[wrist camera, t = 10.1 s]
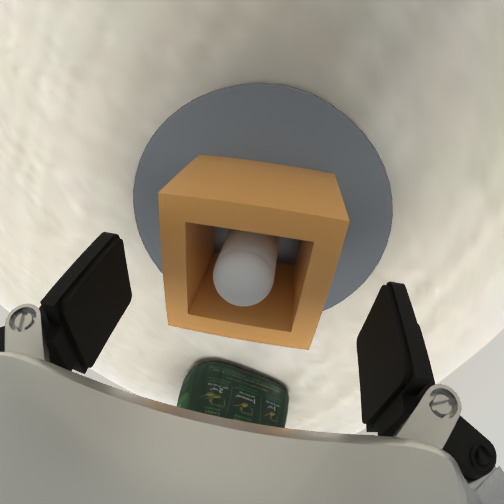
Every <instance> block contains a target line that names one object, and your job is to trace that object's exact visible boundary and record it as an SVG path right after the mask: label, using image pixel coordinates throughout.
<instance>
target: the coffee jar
mask: <svg viewBox="0 0 504 504" xmlns="http://www.w3.org/2000/svg"><path fill="white" fill-rule="evenodd" d="M288 404H289V396H288V393H287V392H286V390H285V389H284V388H283V387H282V386H280V385H279V384H277V383H275V382H273V381H271V380H268V379H266V378H264V377H262V376H259V375H256V374H253V373H251V372H248V371H245V370H242V369H240V368H237V367H234V366H230V365H227V364H224V363H219V362H210V363H204V364H200V365H198V366H196V367H194V368H193V369H192V370H191V371H190V372H189V373H188V375H187V376H186V377H185V379H184V381H183V385H182V388H181V391H180V395H179V399H178V404H177V407H180V408H183V409H187V410H191V411H195V412H200V413H204V414H208V415H213V416H217V417H222V418H227V419H232V420H237V421H243V422H248V423H254V424H260V425H267V426H273V427H280V428H285V424H286V419H287V413H288Z"/></svg>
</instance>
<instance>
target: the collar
mask: <svg viewBox="0 0 504 504" xmlns="http://www.w3.org/2000/svg"><path fill="white" fill-rule="evenodd" d="M158 200H159V223H160V241H161V255H162V268H163V280H164V291H165V301H166V310H167V319H168V325H171V326H175V327H180V328H184V329H189V330H194V331H199V332H203V333H208V334H214V335H219V336H224V337H229V338H235V339H241V340H246V341H252V342H258V343H265V344H271V345H277V346H284V347H291V348H298V349H306V350H309V347H310V345H311V342H312V339H313V336H314V334H315V331H316V328H317V325H318V322H319V319H320V316H321V313H322V310H323V307H324V304H325V301H326V298H327V295H328V292H329V289H330V286H331V283H332V280H333V277H334V273H335V270H336V267H337V263H338V260H339V257H340V253H341V250H342V247H343V243H344V240H345V236H346V233H347V229H348V225H349V222H350V221H349V217H348V214H347V211H346V208H345V204H344V201H343V198H342V195H341V192H340V189H339V186H338V183H337V180H336V177H335V174H333V173H327V172H322V171H316V170H311V169H305V168H299V167H293V166H287V165H280V164H274V163H267V162H260V161H252V160H245V159H237V158H228V157H220V156H210V155H200V154H199V155H198V156H197V157H196V158H195V159H194V160H193V161H192V162H190V163H189V164H188V165H187V166H186V167H185V168H184V169H183V170H182V171H181V172H179V173H178V174H177V175H176V176H175V177H174V178H173V179H172V180H171V181H170V182H169V183H168V184H167V185H166V186H165V187H164V188H162V189H161V190H160V191H159V192H158ZM215 226H216V227H222V228H229V229H235V230H242V231H248V232H255V233H261V234H267V235H274V236H280V237H286V238H292V239H298V240H300V243H299V248H298V252H297V257H296V262H295V265H289V264H282V263H276V269H275V276H274V283H273V286H272V288H271V291H270V292H269V294H268V295H267V296H266V297H265V298H264V299H263V300H262V301H260V302H259V303H257V304H254V305H251V306H236V305H233V304H231V303H229V302H227V301H226V300H224V299H223V298H222V297H221V296H220V295H219V293H218V292H217V290H216V288H215V285H214V281H213V270H214V267H215V264H216V261H217V259H218V256H219V254H220V253H214V248H215Z"/></svg>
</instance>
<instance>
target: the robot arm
mask: <svg viewBox="0 0 504 504" xmlns="http://www.w3.org/2000/svg"><path fill="white" fill-rule="evenodd" d="M131 298H132V292H131V287H130V281H129V276H128V270H127V264H126V258H125V251H124V244H123V240H122V239H120V237H119V235H117V234H113V233H108V232H103V233H102V234H101V235H100V236H99V237H98V238H97V239H96V240H95V241H94V242H93V243H92V244H91V245H90V246H89V247H88V248H87V249H86V250H85V251H84V252H83V253H82V255H81V256H80V257H79V258H78V259H77V260H76V261H75V262H74V263H73V264H72V266H71V267H70V268H69V269H68V270H67V271H66V272H65V273H64V275H63V276H62V277H61V278H60V279H59V280H58V281H57V283H56V284H55V285H54V286H53V287H52V288H51V290H50V291H49V292H48V293H47V294H46V296H45V297H44V298H43V299H42V300H41V306H40V308H39V309H38V307H37V306H35V305H33V304H23V305H20V306H18V307H16V308H15V309H13V310H12V311H11V312H10V313H9V315H8V317H7V318H6V323H5V326H3V327H0V504H504V472H503V471H502V469H501V468H500V466H499V467H497V468H496V467H495V464H496V451H495V448H494V446H493V444H491V442H490V441H489V440H488V439H487V438H485V437H484V436H483V435H482V434H481V433H480V432H478V431H477V430H476V429H475V428H474V427H473V426H471V425H470V424H469V423H468V422H467V421H466V420H465V419H463V418H462V417H461V416H460V413H461V401H460V399H459V397H458V395H457V393H456V392H455V391H454V390H453V389H452V388H450V387H448V386H446V385H442V384H436V385H435V381H434V377H433V373H432V369H431V365H430V361H429V357H428V353H427V350H426V346H425V343H424V339H423V336H422V332H421V329H420V326H419V324H418V323H417V321H416V317H415V314H414V311H413V308H412V305H411V302H410V299H409V296H408V293H407V290H406V287H405V285H404V284H401V283H395V282H388V283H387V285H383V286H382V287H381V289H380V291H379V293H378V295H377V298H376V300H375V302H374V304H373V306H372V308H371V310H370V313H369V315H368V317H367V319H366V321H365V323H364V325H363V327H362V329H361V331H360V333H359V335H358V338H357V354H358V365H359V378H360V392H361V408H362V422H363V423H364V424H366V428H367V432H378V436H374V435H354V434H339V433H327V432H315V431H305V430H296V429H288V428H280V427H273V426H267V425H260V424H254V423H248V422H243V421H237V420H232V419H227V418H222V417H217V416H213V415H208V414H204V413H200V412H195V411H191V410H187V409H183V408H180V407H176V406H172V405H168V404H165V403H161V402H158V401H154V400H151V399H148V398H144V397H141V396H138V395H135V394H132V393H129V392H126V391H123V390H120V389H117V388H114V387H111V386H108V385H106V384H103V383H100V382H97V381H95V380H92V379H90V378H87V377H84V376H82V375H79V374H77V373H74V372H72V369H74V370H76V371H79V372H81V373H83V374H85V373H86V371H87V369H88V367H89V368H91V367H92V366H93V365H94V363H95V361H96V359H97V358H98V356H99V354H100V352H101V351H102V349H103V347H104V345H105V344H106V342H107V340H108V338H109V337H110V335H111V333H112V332H113V330H114V328H115V327H116V325H117V323H118V322H119V320H120V318H121V317H122V315H123V313H124V312H125V310H126V308H127V307H128V305H129V304H130V302H131Z"/></svg>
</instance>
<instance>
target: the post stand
mask: <svg viewBox="0 0 504 504" xmlns="http://www.w3.org/2000/svg"><path fill="white" fill-rule="evenodd" d="M199 154H200V155H210V156H220V157H228V158H237V159H245V160H252V161H260V162H267V163H274V164H280V165H287V166H293V167H299V168H305V169H311V170H316V171H322V172H327V173H333V174H335V177H336V180H337V183H338V186H339V189H340V192H341V195H342V198H343V201H344V204H345V208H346V211H347V214H348V217H349V221H350V222H349V225H348V229H347V233H346V236H345V240H344V243H343V247H342V250H341V253H340V257H339V260H338V263H337V267H336V270H335V273H334V277H333V280H332V283H331V286H330V289H329V292H328V295H327V298H326V301H325V304H324V307H323V310H322V311H324V310H326V309H329V308H330V307H332V306H334V305H336V304H338V303H340V302H341V301H343V300H344V299H345V298H347V297H348V296H350V295H351V294H352V293H353V292H354V291H356V290H357V289H358V288H359V287H360V286H361V285H362V284H363V283H364V282H365V281H366V279H367V278H368V277H369V276H370V274H371V273H372V272H373V270H374V269H375V267H376V266H377V264H378V262H379V261H380V259H381V257H382V254H383V252H384V250H385V248H386V245H387V242H388V238H389V235H390V231H391V223H392V216H393V214H392V195H391V189H390V183H389V180H388V177H387V174H386V171H385V168H384V165H383V163H382V161H381V159H380V157H379V155H378V153H377V151H376V149H375V148H374V146H373V145H372V144H371V142H370V141H369V139H368V138H367V137H366V135H365V134H364V133H363V132H362V131H361V130H360V129H359V128H358V127H357V126H356V125H355V123H354V122H353V121H352V120H351V119H349V118H348V117H347V116H346V115H345V114H343V113H342V112H341V111H339V110H338V109H337V108H335V107H334V106H333V105H331V104H330V103H328V102H326V101H324V100H322V99H321V98H319V97H317V96H315V95H313V94H310V93H307V92H305V91H302V90H299V89H296V88H292V87H287V86H282V85H276V84H261V83H258V84H245V85H237V86H232V87H228V88H224V89H220V90H216V91H213V92H210V93H208V94H206V95H203V96H201V97H198V98H196V99H195V100H193V101H191V102H189V103H188V104H186V105H184V106H183V107H181V108H180V109H179V110H177V111H176V112H175V113H174V114H173V115H171V116H170V117H169V118H168V119H167V120H166V121H165V122H164V123H163V124H162V125H161V126H160V127H159V129H158V130H157V131H156V132H155V134H154V135H153V137H152V138H151V140H150V141H149V143H148V144H147V146H146V148H145V150H144V152H143V155H142V157H141V159H140V162H139V165H138V168H137V172H136V176H135V183H134V190H133V205H134V213H135V220H136V223H137V227H138V231H139V234H140V236H141V239H142V241H143V244H144V246H145V248H146V250H147V252H148V253H149V255H150V257H151V259H152V260H153V262H154V263H155V264H156V266H157V267H158V268H159V270H160V271H161V272H162V273H163V268H162V255H161V241H160V223H159V200H158V192H159V191H160V190H161V189H162V188H164V187H165V186H166V185H167V184H168V183H169V182H170V181H171V180H172V179H173V178H174V177H175V176H176V175H177V174H178V173H179V172H181V171H182V170H183V169H184V168H185V167H186V166H187V165H188V164H189V163H190V162H192V161H193V160H194V159H195V158H196V157H197V156H198V155H199ZM299 243H300V240H298V239H292V238H286V237H280V236H274V235H267V234H261V233H255V232H248V231H242V230H235V229H229V228H222V227H216V226H215V248H214V253H220V254H219V256H218V259H217V261H216V264H215V267H214V270H213V281H214V285H215V288H216V290H217V292H218V293H219V295H220V296H221V297H222V298H223V299H224V300H226V301H227V302H229V303H231V304H233V305H236V306H251V305H254V304H257V303H259V302H260V301H262V300H263V299H264V298H265V297H266V296H267V295H268V294H269V292H270V291H271V288H272V286H273V283H274V276H275V269H276V263H282V264H289V265H295V262H296V257H297V252H298V248H299Z"/></svg>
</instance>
